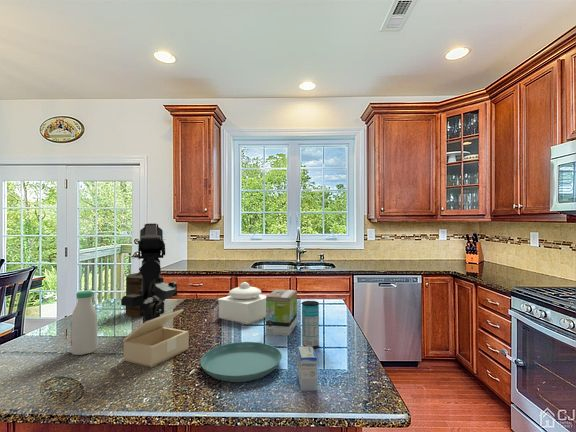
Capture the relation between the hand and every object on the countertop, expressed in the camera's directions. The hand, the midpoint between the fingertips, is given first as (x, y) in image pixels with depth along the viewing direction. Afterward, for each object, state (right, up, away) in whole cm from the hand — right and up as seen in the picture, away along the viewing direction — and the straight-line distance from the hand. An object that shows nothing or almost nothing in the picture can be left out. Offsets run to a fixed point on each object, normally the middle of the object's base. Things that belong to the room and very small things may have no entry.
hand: (150, 321), depth 111 cm
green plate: (+32, -11, -10) cm, 35 cm away
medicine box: (+51, -10, -21) cm, 56 cm away
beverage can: (+53, -11, +6) cm, 55 cm away
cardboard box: (+3, -10, -1) cm, 11 cm away
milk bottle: (-23, -11, +2) cm, 26 cm away
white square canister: (+26, -11, +42) cm, 51 cm away
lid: (+2, -1, -1) cm, 2 cm away
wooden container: (-24, -11, +50) cm, 57 cm away
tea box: (+43, -11, +24) cm, 51 cm away
